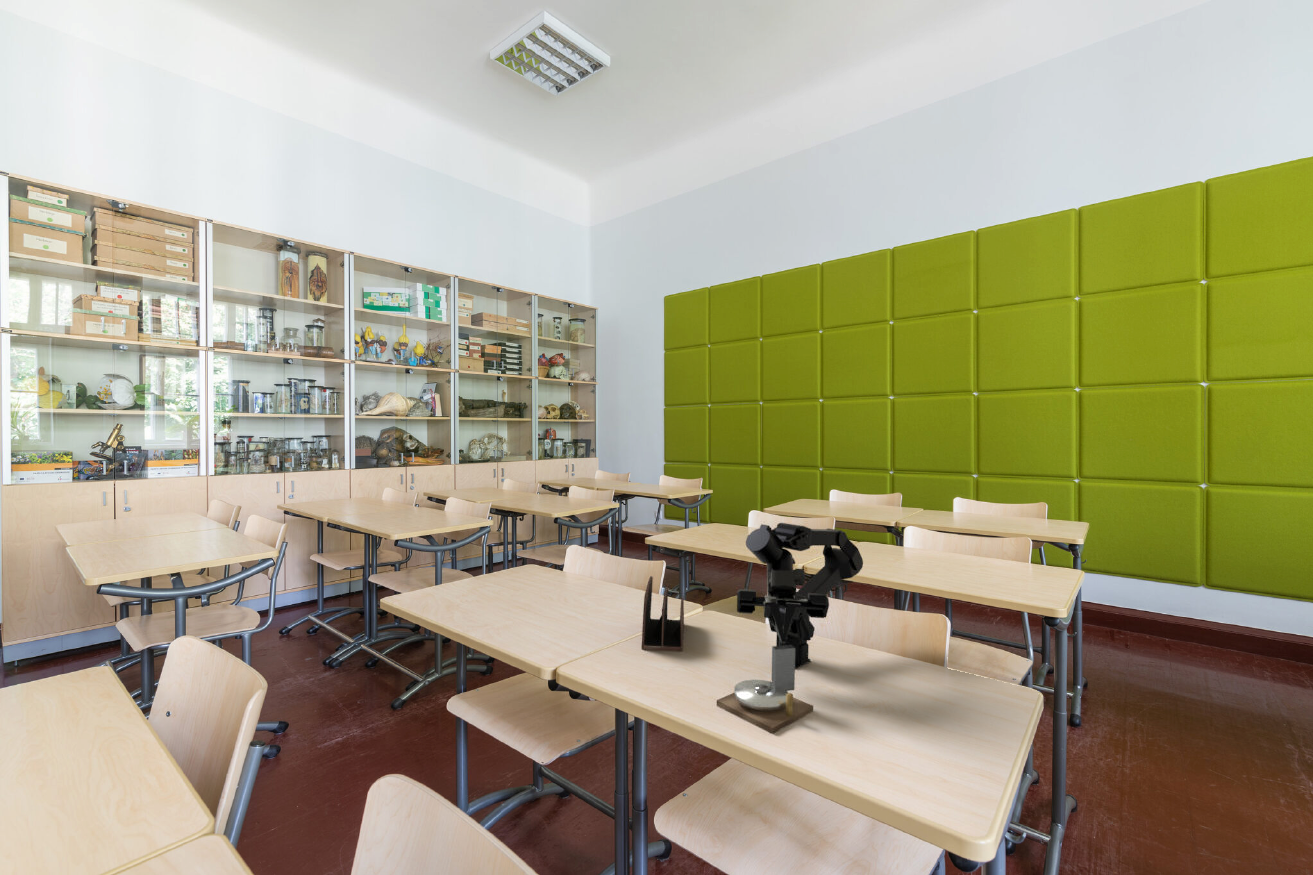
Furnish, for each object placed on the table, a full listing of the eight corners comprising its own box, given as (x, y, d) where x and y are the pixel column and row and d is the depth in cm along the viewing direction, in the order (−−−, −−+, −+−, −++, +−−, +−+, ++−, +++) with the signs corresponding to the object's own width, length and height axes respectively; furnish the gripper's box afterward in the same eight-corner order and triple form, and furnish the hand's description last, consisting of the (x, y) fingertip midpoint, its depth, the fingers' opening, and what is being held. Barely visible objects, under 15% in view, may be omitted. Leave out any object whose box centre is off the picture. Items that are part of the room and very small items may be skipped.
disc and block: (747, 712, 98) (748, 661, 98) (726, 688, 107) (727, 641, 107) (805, 706, 100) (806, 656, 100) (780, 683, 110) (781, 637, 110)
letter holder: (641, 650, 131) (642, 591, 131) (647, 623, 151) (649, 571, 151) (682, 652, 131) (684, 593, 131) (684, 624, 150) (685, 573, 151)
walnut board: (716, 705, 104) (717, 681, 104) (757, 686, 113) (758, 664, 113) (772, 733, 95) (772, 707, 95) (813, 711, 103) (813, 686, 103)
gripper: (737, 551, 117) (736, 620, 106) (828, 555, 114) (836, 626, 103) (737, 578, 125) (736, 645, 114) (822, 583, 122) (829, 652, 111)
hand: (783, 642), depth 110 cm, fingers closed
